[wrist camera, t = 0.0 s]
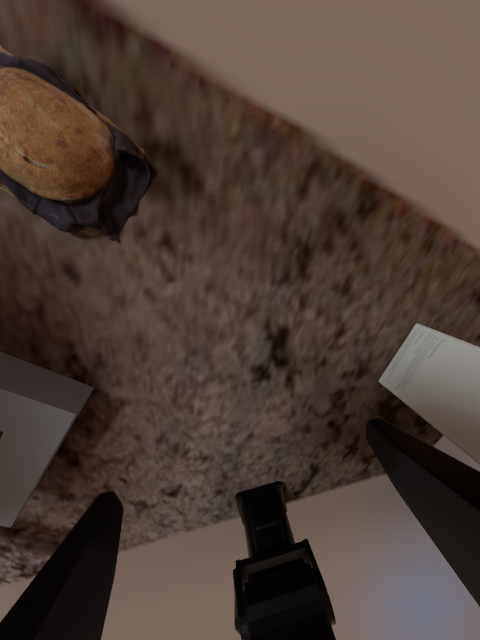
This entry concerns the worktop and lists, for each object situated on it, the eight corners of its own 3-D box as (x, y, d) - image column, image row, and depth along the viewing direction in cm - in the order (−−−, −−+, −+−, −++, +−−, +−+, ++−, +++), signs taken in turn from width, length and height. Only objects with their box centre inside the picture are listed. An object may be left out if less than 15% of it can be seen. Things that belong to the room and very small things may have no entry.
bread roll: (-42, 166, 16) (-110, 149, 12) (-2, 31, 14) (-70, -35, 10) (115, 256, 19) (96, 261, 16) (164, 156, 17) (155, 138, 14)
